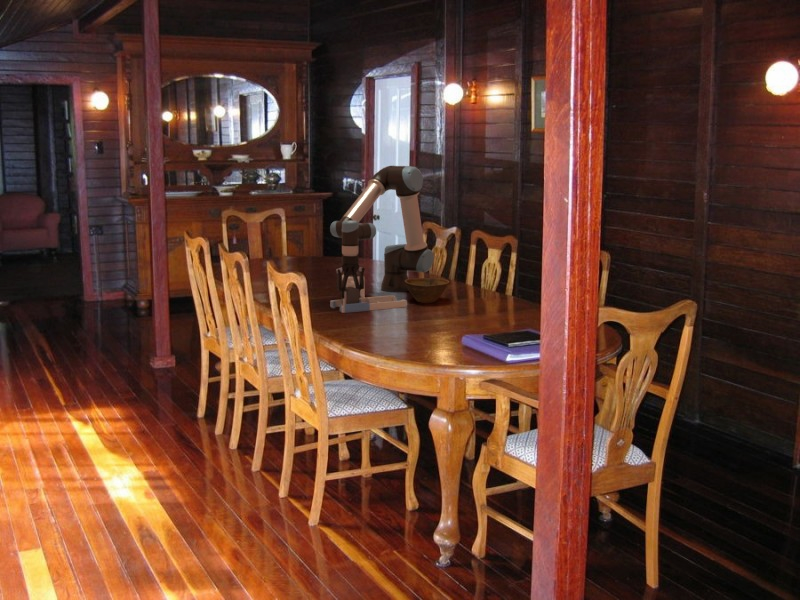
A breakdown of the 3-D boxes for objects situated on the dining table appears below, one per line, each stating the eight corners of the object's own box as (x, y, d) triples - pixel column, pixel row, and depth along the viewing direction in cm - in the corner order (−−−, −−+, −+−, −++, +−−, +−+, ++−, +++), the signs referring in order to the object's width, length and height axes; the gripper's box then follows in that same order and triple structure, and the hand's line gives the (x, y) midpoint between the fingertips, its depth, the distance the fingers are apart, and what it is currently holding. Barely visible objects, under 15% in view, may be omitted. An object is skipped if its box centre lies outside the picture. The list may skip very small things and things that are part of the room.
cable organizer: (364, 301, 443) (364, 277, 441) (342, 301, 442) (342, 277, 440) (363, 295, 457) (363, 272, 455) (342, 295, 457) (342, 272, 454)
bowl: (456, 299, 448) (457, 278, 446) (438, 307, 428) (439, 286, 426) (415, 295, 457) (415, 275, 455) (396, 303, 437) (396, 282, 435)
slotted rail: (392, 301, 442) (392, 293, 441) (407, 307, 428) (407, 299, 427) (330, 306, 428) (330, 298, 428) (343, 313, 414) (343, 304, 414)
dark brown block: (352, 303, 429) (351, 286, 428) (359, 306, 421) (359, 289, 420) (341, 304, 427) (341, 287, 426) (349, 307, 419) (348, 290, 418)
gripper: (365, 252, 427) (365, 301, 431) (328, 254, 419) (329, 305, 424) (371, 254, 420) (371, 304, 425) (334, 256, 413) (335, 307, 417)
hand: (350, 304), depth 424 cm, fingers closed on dark brown block, 5 cm apart
